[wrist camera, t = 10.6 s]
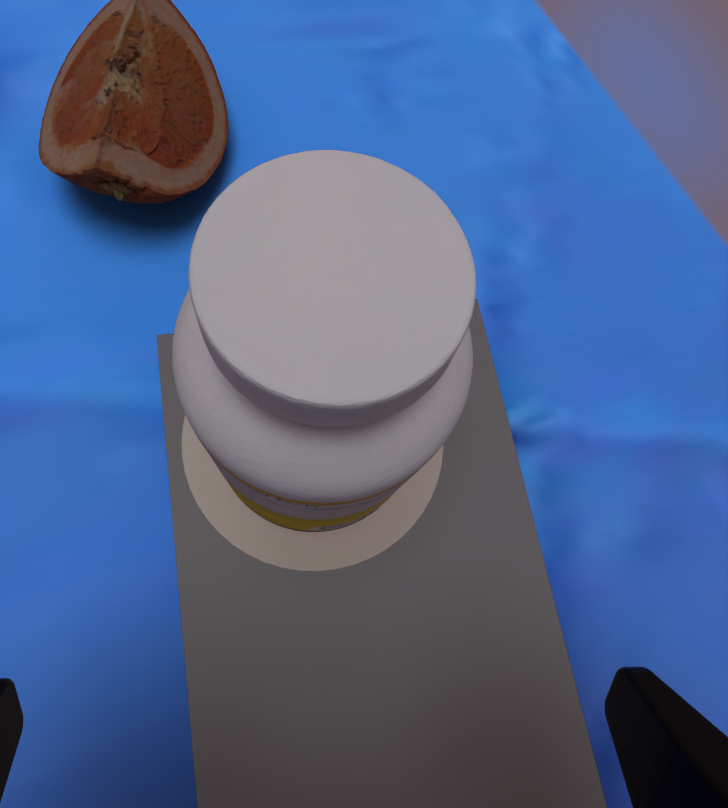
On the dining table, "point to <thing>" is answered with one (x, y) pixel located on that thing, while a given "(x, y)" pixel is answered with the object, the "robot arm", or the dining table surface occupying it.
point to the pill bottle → (325, 335)
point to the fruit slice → (136, 106)
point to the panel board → (378, 636)
